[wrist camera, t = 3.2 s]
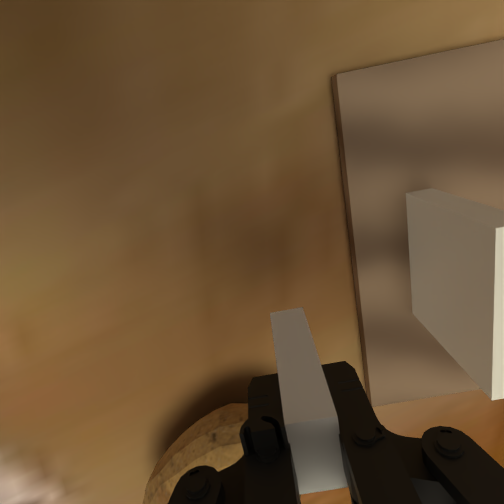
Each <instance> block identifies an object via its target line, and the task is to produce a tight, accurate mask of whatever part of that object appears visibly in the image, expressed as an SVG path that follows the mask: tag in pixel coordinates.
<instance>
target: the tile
mask: <svg viewBox="0 0 504 504" xmlns="http://www.w3.org/2000/svg"><path fill="white" fill-rule="evenodd" d="M406 205H407V223H408V241H409V258H410V276H411V294H412V311H413V314H414V316H415V317H416V318H417V319H418V320H419V321H420V322H421V323H422V324H423V325H424V327H425V328H426V329H427V330H428V331H429V332H430V333H431V334H432V335H433V336H434V338H435V339H436V340H437V341H438V342H439V343H440V344H441V345H442V346H443V347H444V348H445V350H446V351H447V352H448V353H449V354H450V355H451V356H452V357H453V358H454V359H455V361H456V362H457V363H458V364H459V365H460V366H461V367H462V368H463V369H464V370H465V372H466V373H467V374H468V375H469V376H470V377H471V378H472V379H473V380H474V381H475V383H476V384H477V385H478V386H479V387H480V388H481V389H482V390H483V391H484V392H485V394H486V395H487V396H488V397H489V398H490V399H491V400H497V399H503V398H504V210H501V209H498V208H494V207H491V206H488V205H485V204H482V203H478V202H475V201H472V200H469V199H465V198H462V197H459V196H456V195H452V194H449V193H446V192H443V191H440V190H436V189H433V188H429V189H424V190H419V191H414V192H409V193H406Z"/></svg>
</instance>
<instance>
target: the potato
mask: <svg viewBox="0 0 504 504" xmlns="http://www.w3.org/2000/svg"><path fill="white" fill-rule="evenodd" d="M247 419H248V404H246V403H230V404H228V405H226V406H223V407H221V408H218V409H216V410H214V411H213V412H211V413H209V414H208V415H206V416H205V417H203V418H201V419H200V420H198V421H197V422H196V423H194V424H193V425H192V426H191V427H190V428H188V429H187V430H186V431H185V432H184V433H182V434H181V436H180V437H179V438H178V439H177V440H176V441H175V442H174V443H173V444H172V445H171V446H170V447H169V448H168V450H167V451H166V452H165V454H164V455H163V456H162V457H161V459H160V460H159V461H158V463H157V464H156V466H155V468H154V470H153V473H152V475H151V477H150V479H149V481H148V483H147V485H146V490H145V495H144V500H143V504H168V502H169V499H170V497H171V495H172V492H173V490H174V488H175V486H176V484H177V482H178V481H179V479H180V477H181V476H182V475H184V474H185V473H186V472H187V471H188V470H190V469H192V468H194V467H196V466H203V465H207V466H211V467H214V468H215V469H216V470H217V471H218V472H219V471H221V470H223V469H225V468H227V467H229V466H231V465H232V464H234V463H236V462H237V461H238V460H239V459H240V458H241V457H242V456H243V454H244V452H243V448H242V444H241V440H240V436H239V432H240V428H241V426H242V425H243V424H244V422H245V421H246V420H247ZM300 498H301V494H300Z"/></svg>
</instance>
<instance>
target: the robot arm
mask: <svg viewBox="0 0 504 504" xmlns="http://www.w3.org/2000/svg"><path fill="white" fill-rule="evenodd" d="M270 317H271V325H272V332H273V340H274V348H275V355H276V363H277V371H278V373H277V374H271V375H265V376H259V377H254V378H253V379H252V381H251V383H250V385H249V387H248V419H247V420H246V421H245V422H244V424H243V425H242V426H241V428H240V432H239V436H240V440H241V444H242V448H243V452H244V454H243V456H242V457H241V458H240V459H239V460H238V461H237V462H236V463H234V464H232V465H231V466H229V467H227V468H225V469H223V470H221V471H219V472H218V471H217V470H216V469H215V468H214V467H211V466H207V465H203V466H196V467H194V468H192V469H190V470H188V471H187V472H186V473H185V474H184V475H182V476H181V477H180V479H179V481H178V482H177V484H176V486H175V488H174V490H173V492H172V495H171V497H170V499H169V502H168V504H301V502H300V494H306V493H312V492H319V491H325V490H332V489H338V488H345V487H349V490H350V495H351V502H352V504H504V468H503V467H502V466H500V465H499V464H498V463H497V462H496V461H495V460H494V459H493V458H492V457H491V456H490V455H489V454H487V453H486V452H485V451H484V450H483V449H482V448H481V447H480V446H479V445H478V444H477V443H475V442H474V441H473V440H472V439H471V438H470V437H469V436H467V435H466V434H464V433H463V432H461V431H459V430H457V429H454V428H451V427H444V426H438V427H433V428H430V429H428V430H427V431H425V432H424V434H423V436H422V438H412V437H405V436H400V435H397V434H394V433H392V432H390V431H388V430H387V429H386V428H385V427H384V426H383V425H381V424H380V422H379V421H378V419H377V417H376V415H375V413H374V411H373V408H372V406H371V404H370V402H369V400H368V397H367V395H366V393H365V391H364V389H363V386H362V384H361V382H360V381H359V378H358V375H357V373H356V371H355V369H354V368H353V367H352V366H351V365H349V364H348V363H347V362H346V361H342V362H336V363H330V364H324V365H321V363H320V360H319V357H318V354H317V351H316V347H315V344H314V341H313V338H312V335H311V332H310V329H309V326H308V322H307V319H306V316H305V313H304V310H303V307H301V308H296V309H290V310H284V311H279V312H273V313H270ZM347 483H348V485H347Z"/></svg>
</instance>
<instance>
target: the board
mask: <svg viewBox="0 0 504 504" xmlns="http://www.w3.org/2000/svg"><path fill="white" fill-rule="evenodd" d="M331 79H332V88H333V97H334V106H335V115H336V124H337V133H338V142H339V151H340V160H341V169H342V178H343V187H344V196H345V205H346V214H347V223H348V232H349V241H350V250H351V259H352V267H353V276H354V285H355V294H356V303H357V312H358V321H359V330H360V339H361V348H362V357H363V366H364V375H365V384H366V393H367V397H368V399H369V401H370V404H371V406H372V407H375V406H381V405H387V404H393V403H399V402H405V401H411V400H418V399H424V398H430V397H436V396H442V395H448V394H454V393H460V392H466V391H472V390H478V389H481V388H480V387H479V386H478V385H477V384H476V383H475V381H474V380H473V379H472V378H471V377H470V376H469V375H468V374H467V373H466V372H465V370H464V369H463V368H462V367H461V366H460V365H459V364H458V363H457V362H456V361H455V359H454V358H453V357H452V356H451V355H450V354H449V353H448V352H447V351H446V350H445V348H444V347H443V346H442V345H441V344H440V343H439V342H438V341H437V340H436V339H435V338H434V336H433V335H432V334H431V333H430V332H429V331H428V330H427V329H426V328H425V327H424V325H423V324H422V323H421V322H420V321H419V320H418V319H417V318H416V317H415V316H414V314H413V311H412V294H411V276H410V258H409V241H408V223H407V205H406V193H409V192H414V191H419V190H424V189H429V188H433V189H436V190H440V191H443V192H446V193H449V194H452V195H456V196H459V197H462V198H465V199H469V200H472V201H475V202H478V203H482V204H485V205H488V206H491V207H494V208H498V209H501V210H504V39H502V40H497V41H492V42H488V43H483V44H478V45H473V46H469V47H464V48H459V49H454V50H449V51H445V52H440V53H435V54H430V55H425V56H421V57H416V58H411V59H406V60H402V61H397V62H392V63H387V64H382V65H378V66H373V67H368V68H363V69H358V70H354V71H349V72H344V73H339V74H336V75H334V76H333V77H331Z"/></svg>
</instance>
